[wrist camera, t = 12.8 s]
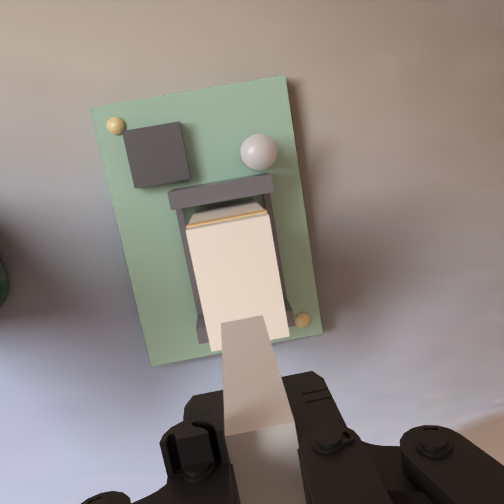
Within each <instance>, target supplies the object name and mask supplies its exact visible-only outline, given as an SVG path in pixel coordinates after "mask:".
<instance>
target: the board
mask: <svg viewBox="0 0 504 504" xmlns="http://www.w3.org/2000/svg"><path fill="white" fill-rule="evenodd" d="M90 111H91V115H92V120H93V124H94V128H95V132H96V136H97V141H98V145H99V149H100V153H101V158H102V162H103V166H104V170H105V174H106V179H107V183H108V187H109V191H110V195H111V200H112V204H113V208H114V212H115V216H116V221H117V225H118V229H119V233H120V237H121V242H122V246H123V250H124V254H125V258H126V263H127V267H128V271H129V275H130V279H131V284H132V288H133V292H134V296H135V300H136V305H137V309H138V313H139V317H140V322H141V326H142V330H143V334H144V338H145V343H146V347H147V351H148V355H149V359H150V364H151V367H152V366H157V365H163V364H168V363H173V362H178V361H183V360H189V359H194V358H199V357H204V356H209V355H215V354H220V353H222V350H218V351H213V352H211V348H210V343H203V344H199V341H198V336H197V332H196V324H197V311H196V306H195V301H194V297H193V292H192V287H191V282H190V277H189V272H188V268H187V263H186V258H185V253H184V248H183V244H182V239H181V234H180V229H179V224H178V220H177V215H176V210H171V208H170V203H169V199H168V194H167V192H169V191H170V190H172V189H176V188H182V187H188V186H193V185H199V184H205V183H210V182H216V181H222V180H227V179H233V178H239V177H244V176H250V175H256V174H261V173H269V174H271V176H272V182H273V188H274V192H272V193H270V196H271V202H272V208H273V214H274V221H275V227H276V233H277V239H278V245H279V252H280V258H281V264H282V270H283V276H284V283H285V289H286V295H287V300H288V302H289V304H290V305H291V307H292V309H293V314H294V320H295V326H292V327H288V329H289V335H290V336H289V337H284V338H279V339H274V340H270V341H271V344H272V343H277V342H282V341H287V340H293V339H298V338H303V337H308V336H313V335H319V334H323V331H322V324H321V317H320V310H319V304H318V297H317V290H316V283H315V276H314V269H313V262H312V255H311V249H310V242H309V235H308V228H307V221H306V214H305V207H304V201H303V194H302V187H301V180H300V173H299V166H298V159H297V152H296V146H295V139H294V132H293V125H292V118H291V111H290V104H289V98H288V91H287V84H286V77H285V75H282V76H276V77H270V78H264V79H258V80H252V81H246V82H240V83H234V84H228V85H222V86H216V87H210V88H204V89H198V90H192V91H186V92H180V93H174V94H169V95H163V96H157V97H151V98H145V99H139V100H133V101H127V102H121V103H115V104H109V105H103V106H97V107H91V108H90ZM251 199H254V200H255V201H256V202H257V203H258V204H259V205H260V206H261V207H262V208H263V209H265V207H264V201H263V195H262V194H260V195H255V196H249V197H244V198H238V199H232V200H227V201H221V202H216V203H210V204H204V205H199V206H193V207H188V208H183V210H184V214H185V219H186V224H189V222H190V219H191V217H192V215H193V213H194V210H197V209H202V208H208V207H213V206H218V205H224V204H229V203H234V202H240V201H245V200H251Z"/></svg>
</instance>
